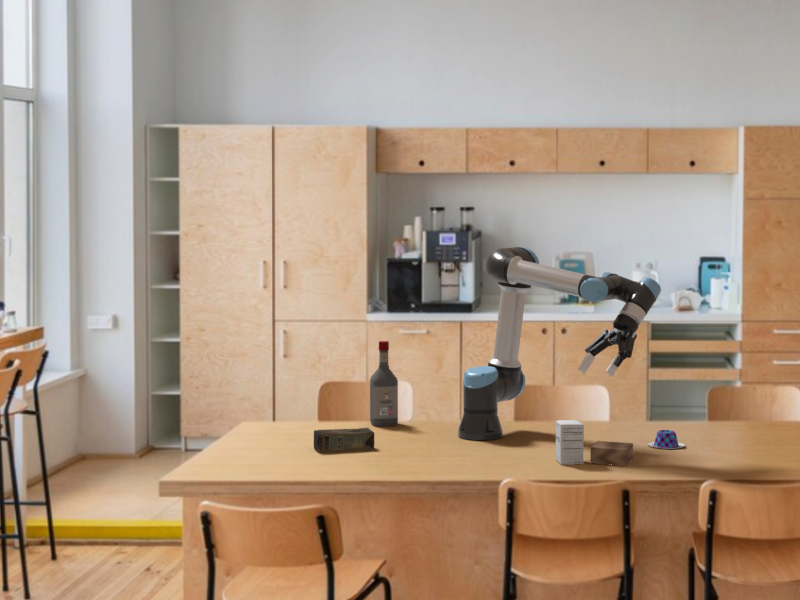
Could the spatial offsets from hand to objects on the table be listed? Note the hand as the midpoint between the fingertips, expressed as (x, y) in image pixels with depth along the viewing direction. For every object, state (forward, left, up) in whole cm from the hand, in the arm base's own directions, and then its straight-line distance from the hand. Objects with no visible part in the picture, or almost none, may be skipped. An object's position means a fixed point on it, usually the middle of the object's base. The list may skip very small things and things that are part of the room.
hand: (594, 372), depth 385 cm
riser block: (+7, -4, -27) cm, 28 cm away
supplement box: (-5, -10, -27) cm, 29 cm away
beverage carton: (-79, -16, -27) cm, 85 cm away
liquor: (-83, +29, -27) cm, 92 cm away
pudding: (+18, +26, -27) cm, 42 cm away
